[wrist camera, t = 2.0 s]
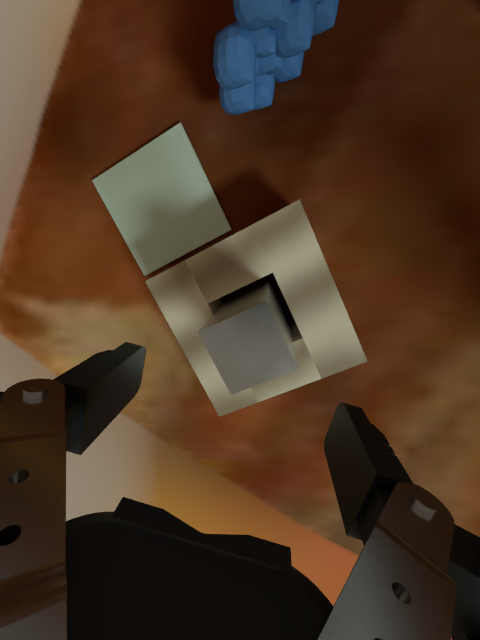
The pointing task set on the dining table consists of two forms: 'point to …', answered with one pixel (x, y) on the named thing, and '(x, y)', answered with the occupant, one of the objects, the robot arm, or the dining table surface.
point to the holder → (296, 286)
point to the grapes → (265, 48)
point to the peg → (250, 338)
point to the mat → (162, 201)
